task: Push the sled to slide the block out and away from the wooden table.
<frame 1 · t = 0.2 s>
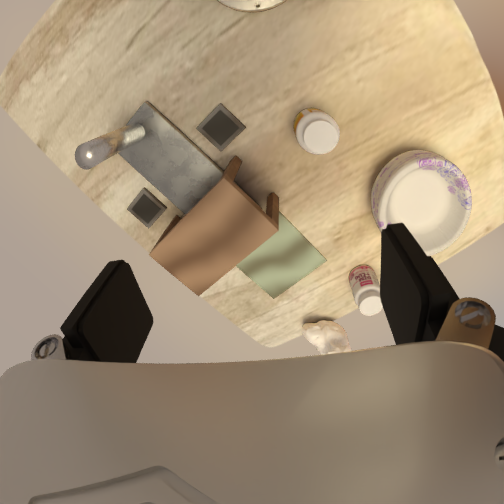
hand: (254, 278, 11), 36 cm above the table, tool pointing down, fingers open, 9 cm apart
supplement bottle: (312, 125, 42), on the table
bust: (328, 327, 61), on the table
wooden table: (223, 208, 49), on the table
sled: (169, 191, 40), point 8 cm above the table, slide at 0.0 cm, touching block
paper bowls: (409, 191, 45), on the table
pill bottle: (361, 275, 54), on the table
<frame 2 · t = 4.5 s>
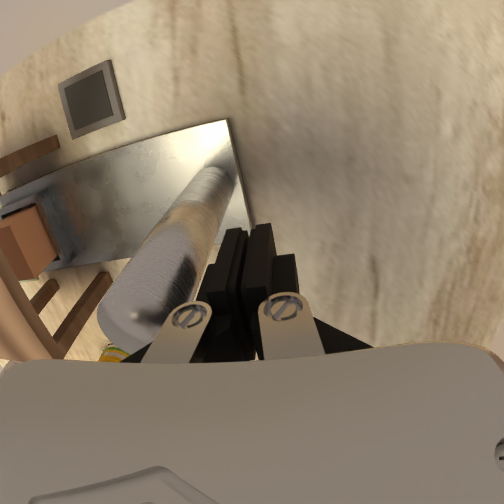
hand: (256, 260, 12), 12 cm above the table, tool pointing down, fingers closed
supplement bottle: (124, 356, 35), on the table
wooden table: (50, 222, 26), on the table
sled: (54, 253, 18), point 8 cm above the table, slide at 0.9 cm, touching block, gripper
block: (37, 229, 25), point 1 cm above the table, touching sled
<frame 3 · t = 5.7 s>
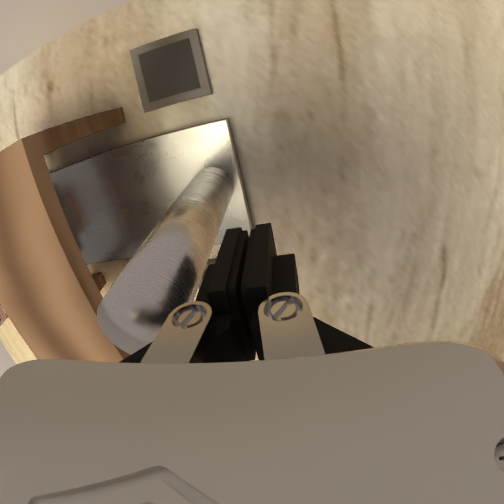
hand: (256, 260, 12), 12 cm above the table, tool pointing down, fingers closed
wooden table: (103, 207, 25), on the table
sled: (54, 253, 18), point 8 cm above the table, slide at 7.8 cm, touching block, gripper
pill bottle: (0, 300, 34), on the table
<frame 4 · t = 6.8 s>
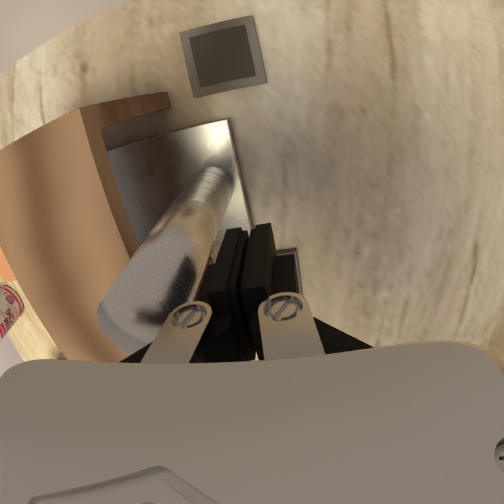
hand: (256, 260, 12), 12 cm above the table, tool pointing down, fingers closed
wooden table: (139, 197, 24), on the table
sled: (54, 252, 18), point 8 cm above the table, slide at 11.5 cm, touching block, gripper
pill bottle: (12, 298, 33), on the table
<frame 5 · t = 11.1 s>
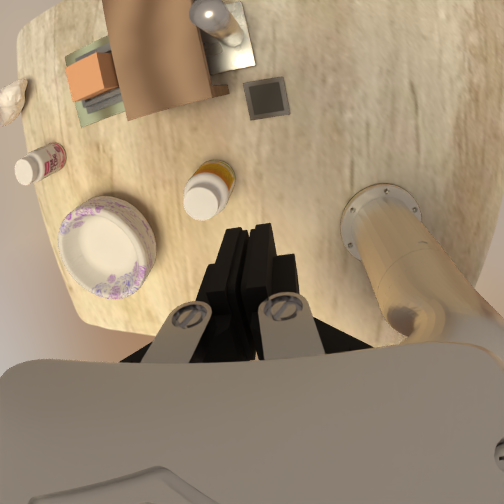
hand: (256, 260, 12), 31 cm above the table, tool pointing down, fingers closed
supplement bottle: (216, 177, 43), on the table
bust: (16, 103, 38), on the table
wooden table: (183, 49, 34), on the table
sled: (134, 53, 28), point 8 cm above the table, slide at 11.5 cm, touching block
paper bowls: (120, 232, 49), on the table
block: (103, 76, 35), point 1 cm above the table, touching sled
pill bottle: (56, 155, 42), on the table
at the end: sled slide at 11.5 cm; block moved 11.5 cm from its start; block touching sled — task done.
